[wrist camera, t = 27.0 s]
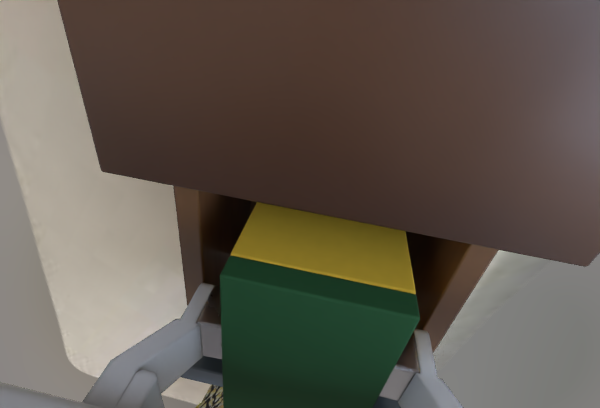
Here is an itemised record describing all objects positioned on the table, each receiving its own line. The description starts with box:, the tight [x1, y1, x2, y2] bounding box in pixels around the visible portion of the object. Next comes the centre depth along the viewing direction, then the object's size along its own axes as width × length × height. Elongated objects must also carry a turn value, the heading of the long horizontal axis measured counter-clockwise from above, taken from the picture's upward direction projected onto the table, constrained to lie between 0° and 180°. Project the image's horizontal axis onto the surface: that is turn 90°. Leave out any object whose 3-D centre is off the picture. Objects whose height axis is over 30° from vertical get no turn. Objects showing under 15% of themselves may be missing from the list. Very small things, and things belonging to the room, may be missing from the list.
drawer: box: [173, 186, 498, 408], centre depth 16 cm, size 19×11×7 cm, turn 173°
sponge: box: [220, 202, 420, 408], centre depth 12 cm, size 5×7×4 cm
